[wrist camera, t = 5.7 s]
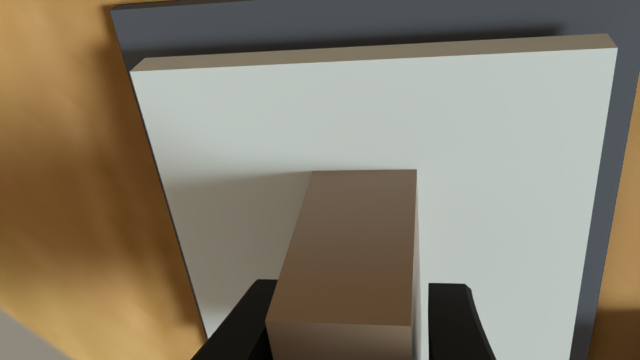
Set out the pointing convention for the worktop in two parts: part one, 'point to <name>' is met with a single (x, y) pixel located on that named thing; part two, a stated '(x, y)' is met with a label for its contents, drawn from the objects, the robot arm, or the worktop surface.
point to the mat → (407, 28)
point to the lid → (385, 186)
